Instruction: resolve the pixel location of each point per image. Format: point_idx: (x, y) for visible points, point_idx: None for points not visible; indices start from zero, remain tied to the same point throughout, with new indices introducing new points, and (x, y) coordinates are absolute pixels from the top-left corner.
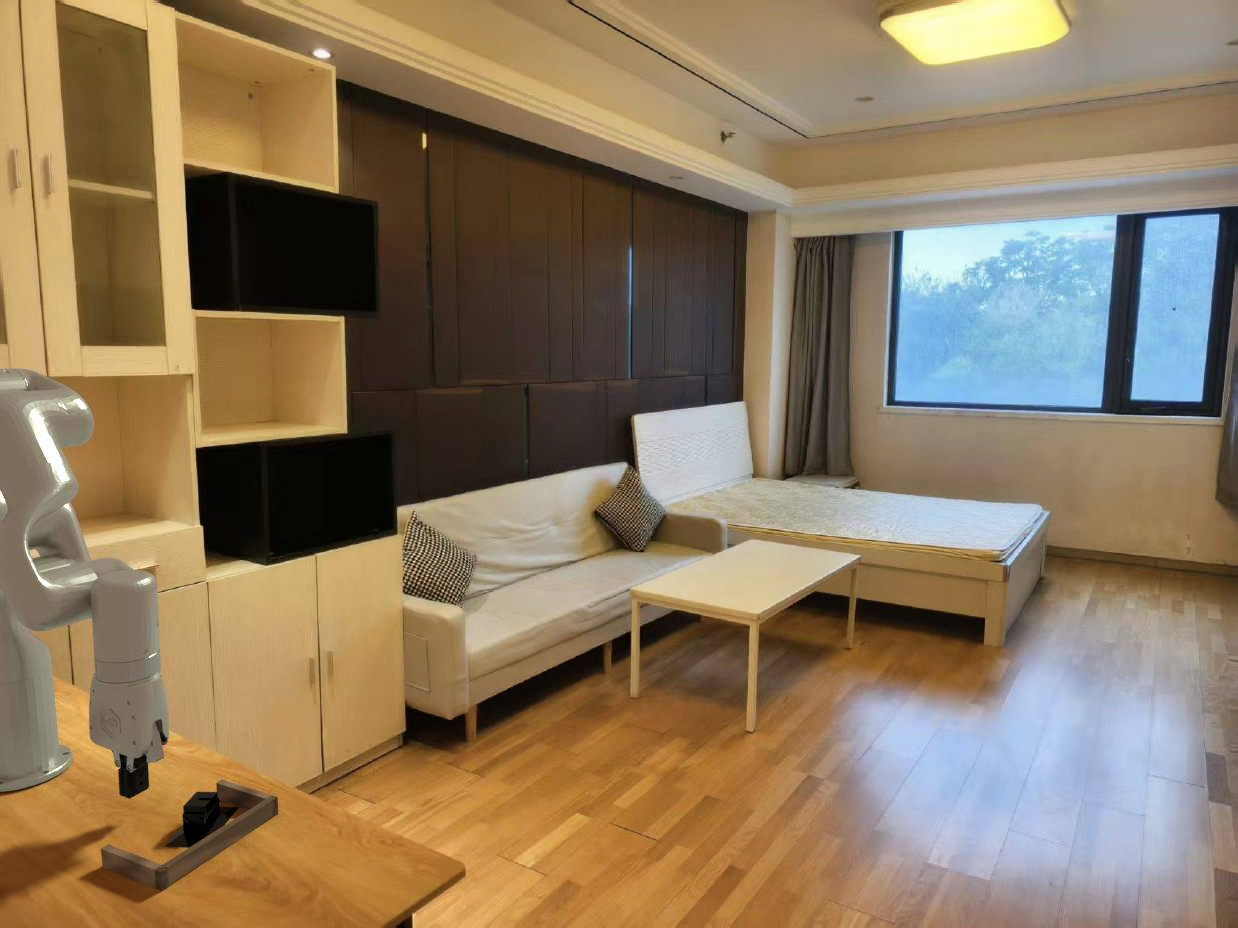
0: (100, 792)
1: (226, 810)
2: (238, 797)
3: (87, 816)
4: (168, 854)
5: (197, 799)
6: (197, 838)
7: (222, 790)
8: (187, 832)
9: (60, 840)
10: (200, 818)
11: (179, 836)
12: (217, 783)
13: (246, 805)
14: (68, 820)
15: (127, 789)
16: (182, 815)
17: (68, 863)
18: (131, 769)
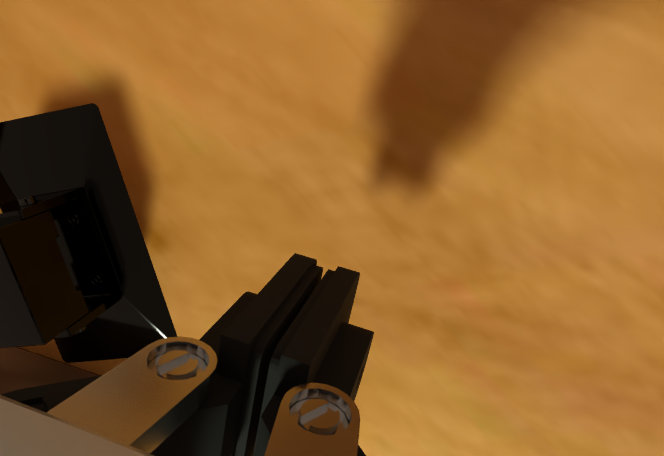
0: (658, 408)
1: (75, 336)
2: (41, 384)
3: (578, 233)
4: (42, 61)
5: None
6: (21, 167)
7: None
8: (71, 189)
9: (567, 26)
10: None
11: (83, 164)
12: None
13: (24, 360)
14: (656, 188)
15: (277, 276)
16: (26, 208)
17: None
18: (168, 350)
